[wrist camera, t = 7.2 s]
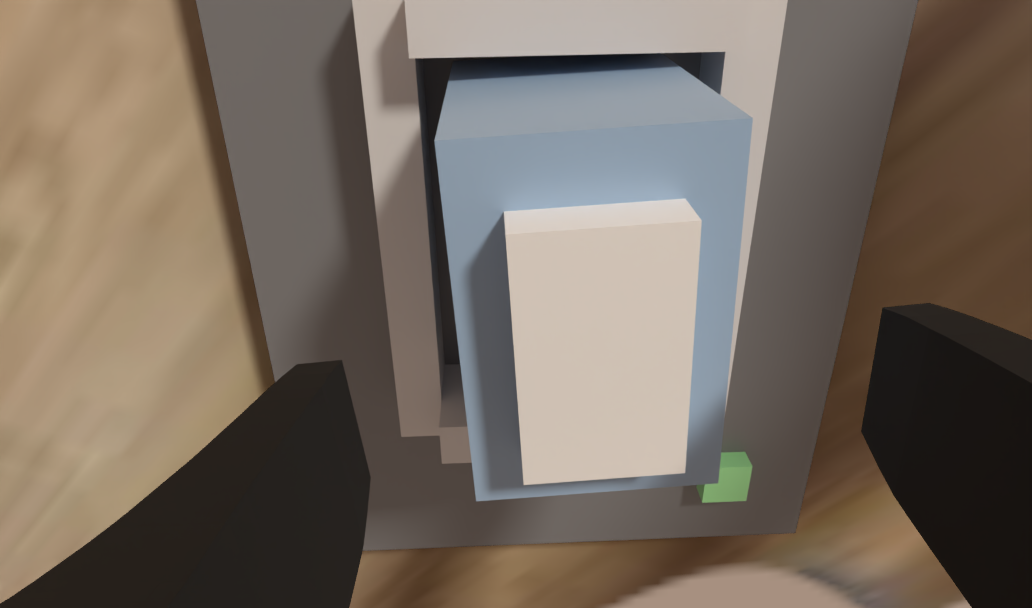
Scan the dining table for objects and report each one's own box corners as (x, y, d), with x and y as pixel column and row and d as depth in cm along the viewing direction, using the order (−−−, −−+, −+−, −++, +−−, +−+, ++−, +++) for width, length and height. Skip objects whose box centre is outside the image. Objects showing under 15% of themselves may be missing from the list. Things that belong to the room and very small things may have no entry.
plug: (652, 46, 14) (775, 135, 8) (645, 310, 17) (733, 518, 11) (452, 61, 14) (429, 158, 8) (478, 322, 17) (475, 538, 11)
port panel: (962, -360, 12) (1134, -464, 9) (780, 503, 22) (832, 605, 18) (148, -356, 12) (22, -462, 9) (319, 521, 21) (289, 629, 18)
